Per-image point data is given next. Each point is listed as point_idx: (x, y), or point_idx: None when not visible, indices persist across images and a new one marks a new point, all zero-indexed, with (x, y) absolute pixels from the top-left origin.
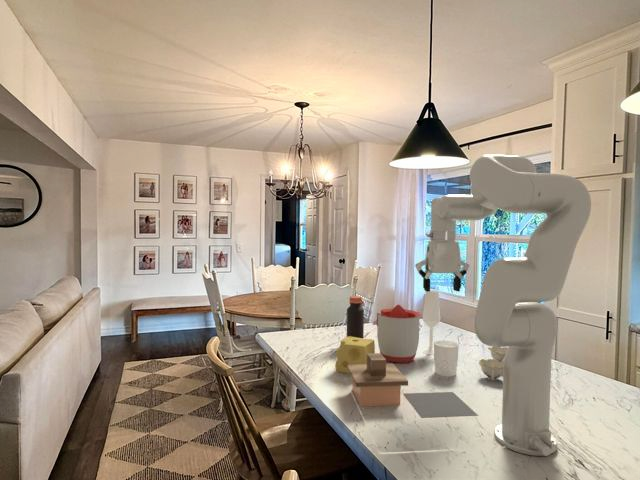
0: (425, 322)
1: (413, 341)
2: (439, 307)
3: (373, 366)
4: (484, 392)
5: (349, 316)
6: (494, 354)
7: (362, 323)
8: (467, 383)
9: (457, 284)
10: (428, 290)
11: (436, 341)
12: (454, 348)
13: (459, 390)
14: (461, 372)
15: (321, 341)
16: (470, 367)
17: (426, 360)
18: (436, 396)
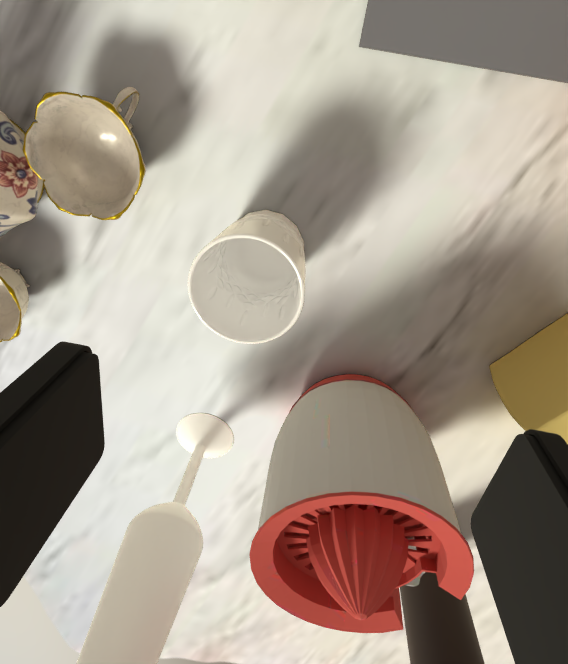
0: (199, 527)
1: (328, 412)
2: (111, 576)
3: None
4: (224, 17)
5: (480, 649)
6: (17, 292)
7: (421, 606)
8: (239, 132)
9: (36, 416)
10: (558, 437)
11: (270, 337)
12: (235, 232)
13: (314, 67)
14: (200, 244)
15: None
16: (140, 280)
17: (261, 377)
18: (460, 12)
